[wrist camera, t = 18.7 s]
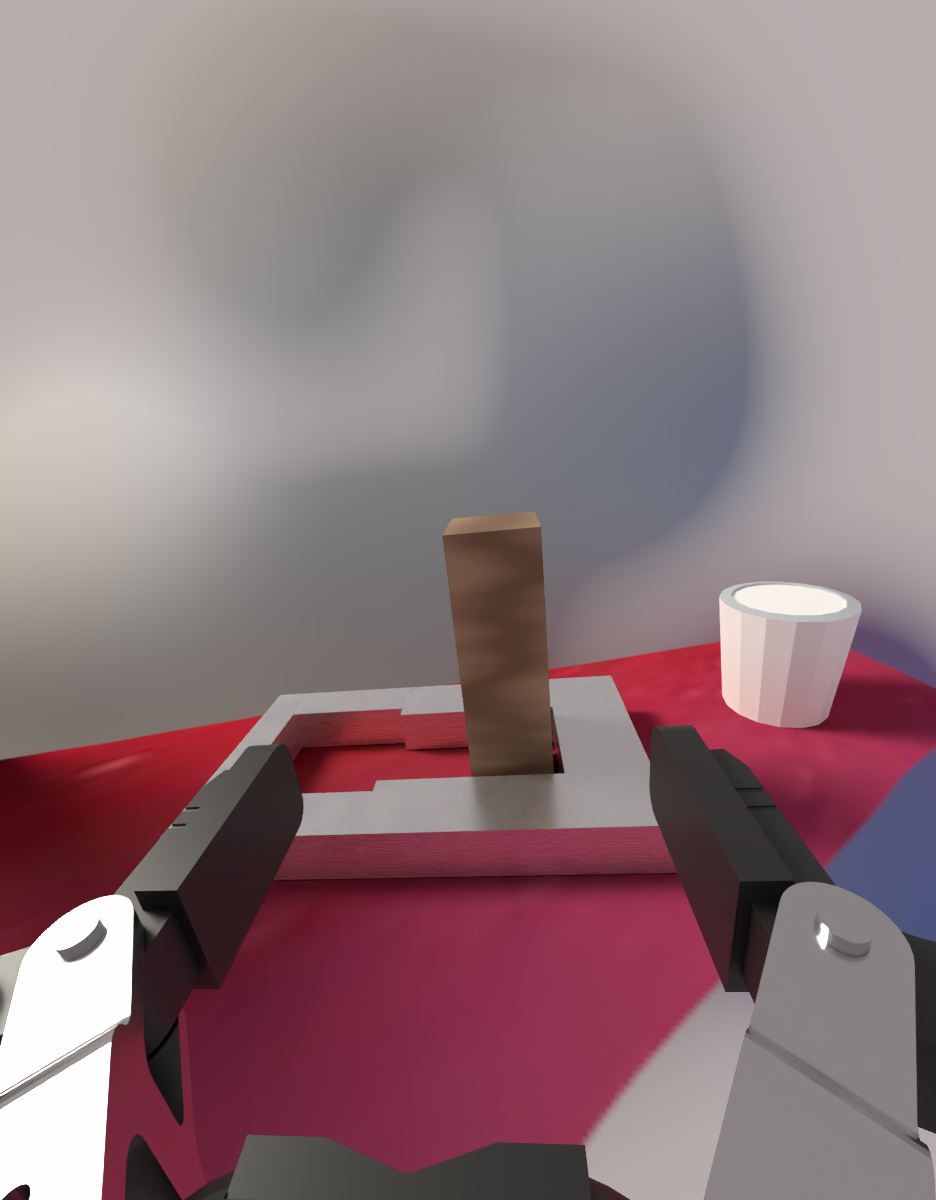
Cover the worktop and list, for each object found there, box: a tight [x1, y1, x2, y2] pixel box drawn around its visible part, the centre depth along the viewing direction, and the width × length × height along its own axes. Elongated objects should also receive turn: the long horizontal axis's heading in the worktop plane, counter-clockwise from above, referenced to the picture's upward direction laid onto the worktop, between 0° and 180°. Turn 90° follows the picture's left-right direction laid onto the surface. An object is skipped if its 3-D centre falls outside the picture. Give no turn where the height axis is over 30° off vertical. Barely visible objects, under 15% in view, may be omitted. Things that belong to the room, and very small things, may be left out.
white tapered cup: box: [719, 582, 862, 728], centre depth 28 cm, size 7×7×7 cm
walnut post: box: [443, 511, 554, 777], centre depth 23 cm, size 4×4×14 cm
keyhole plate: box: [160, 676, 676, 880], centre depth 25 cm, size 22×12×2 cm, turn 86°
